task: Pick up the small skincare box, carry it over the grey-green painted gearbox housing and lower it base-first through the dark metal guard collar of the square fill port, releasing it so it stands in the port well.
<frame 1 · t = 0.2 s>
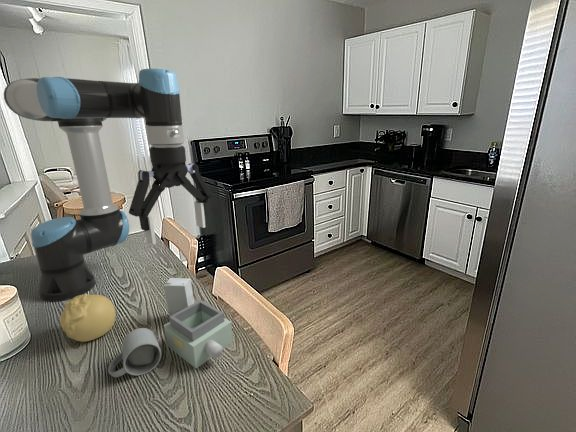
hand: (178, 234, 75), 27 cm above the table, fingers open, 13 cm apart
sculpture: (92, 333, 81), on the table
skincare box: (182, 319, 86), on the table
gearbox: (200, 343, 77), on the table
ceramic mug: (137, 366, 70), on the table
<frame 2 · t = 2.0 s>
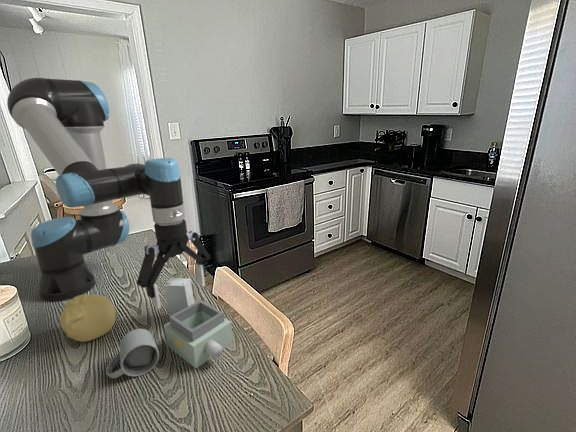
hand: (180, 295, 84), 8 cm above the table, fingers open, 13 cm apart
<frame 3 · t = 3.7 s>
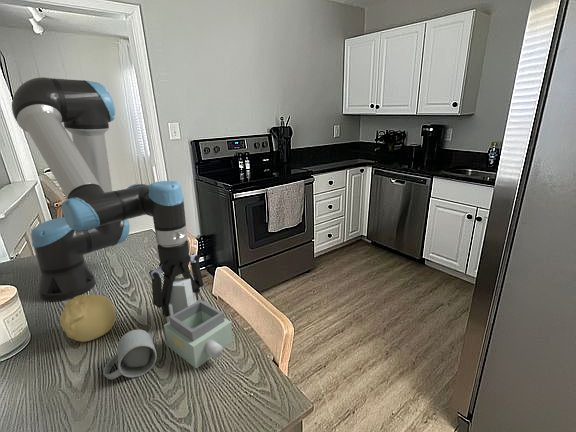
hand: (182, 317, 86), 1 cm above the table, fingers closed on skincare box, 7 cm apart
skincare box: (182, 319, 86), on the table, touching gripper
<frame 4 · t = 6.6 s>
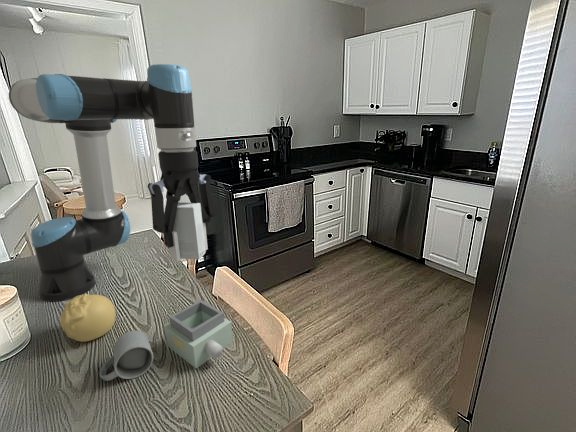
hand: (189, 253, 69), 25 cm above the table, fingers closed on skincare box, 6 cm apart
skincare box: (189, 256, 69), point 24 cm above the table, touching gripper
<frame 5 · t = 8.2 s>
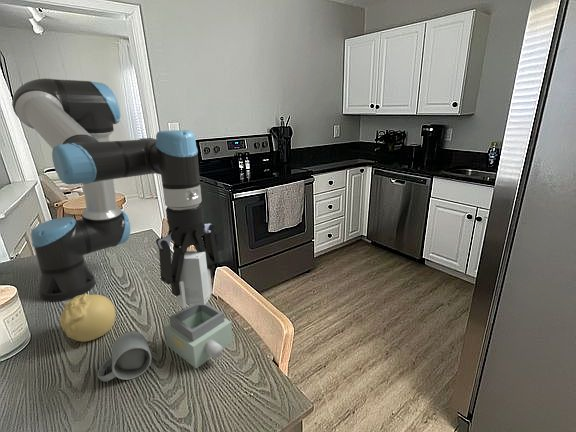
hand: (195, 298, 73), 13 cm above the table, fingers closed on skincare box, 6 cm apart
skincare box: (195, 301, 73), point 12 cm above the table, touching gripper
when the fingers open (10 cm above the table, at t = 9.5 s): skincare box drops 7 cm, resting on gearbox.
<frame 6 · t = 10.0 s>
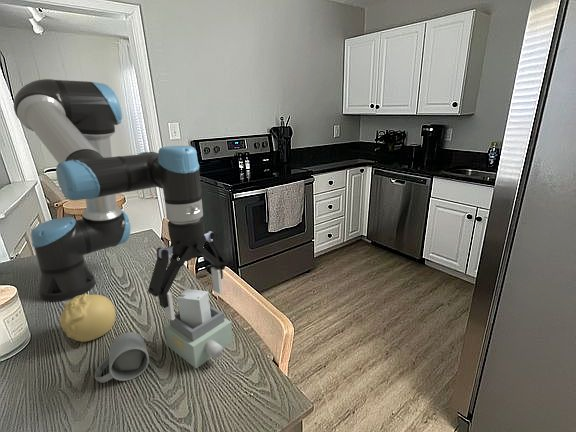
hand: (195, 303, 73), 12 cm above the table, fingers open, 13 cm apart
skincare box: (198, 337, 76), point 2 cm above the table, touching gearbox
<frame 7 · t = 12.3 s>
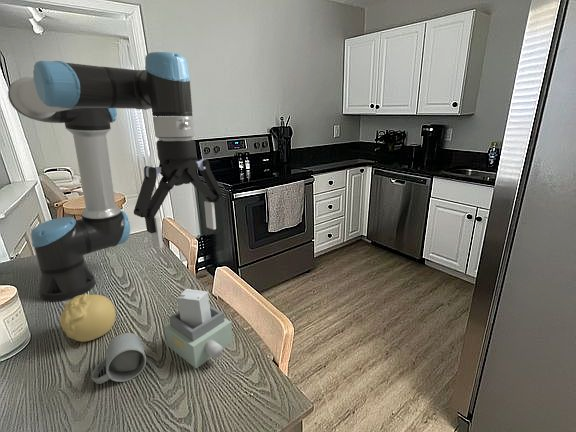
hand: (186, 236, 69), 29 cm above the table, fingers open, 13 cm apart
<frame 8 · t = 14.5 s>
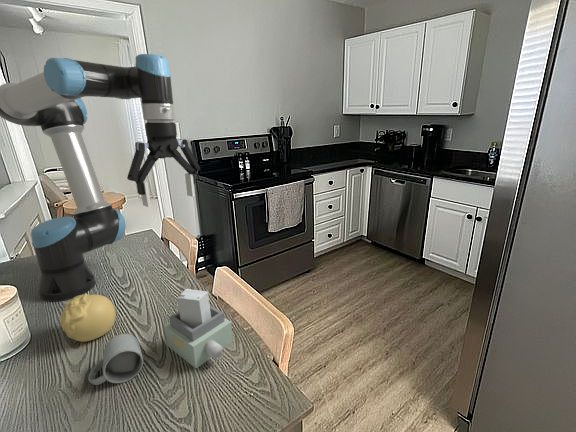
hand: (170, 200, 86), 32 cm above the table, fingers open, 13 cm apart
at the end: skincare box inside the target area on the gearbox (0.4 cm from its centre), point 2.3 cm above the gearbox's base; the gripper is holding nothing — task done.
